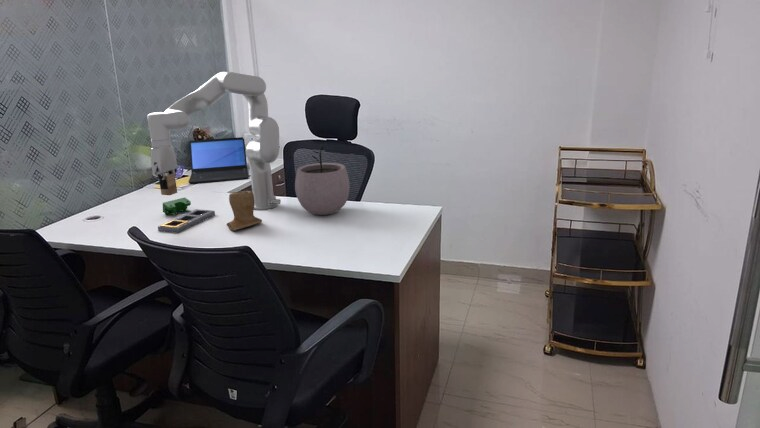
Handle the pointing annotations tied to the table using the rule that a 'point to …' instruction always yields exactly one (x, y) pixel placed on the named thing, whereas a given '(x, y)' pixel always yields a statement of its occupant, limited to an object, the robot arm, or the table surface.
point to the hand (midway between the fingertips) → (168, 187)
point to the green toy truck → (176, 206)
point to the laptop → (218, 160)
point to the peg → (169, 185)
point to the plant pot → (322, 187)
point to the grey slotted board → (181, 224)
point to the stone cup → (242, 210)
